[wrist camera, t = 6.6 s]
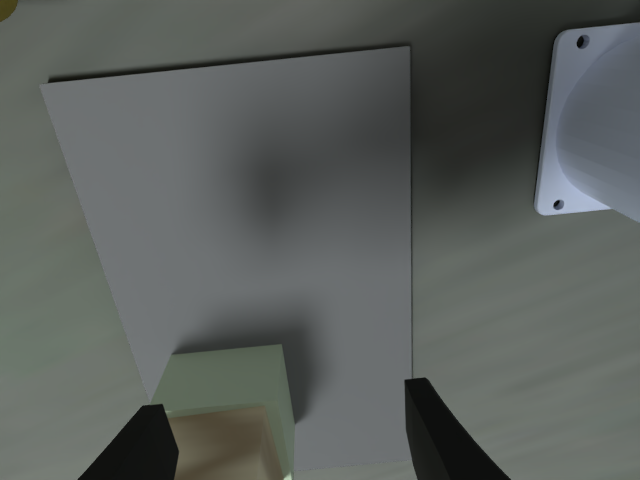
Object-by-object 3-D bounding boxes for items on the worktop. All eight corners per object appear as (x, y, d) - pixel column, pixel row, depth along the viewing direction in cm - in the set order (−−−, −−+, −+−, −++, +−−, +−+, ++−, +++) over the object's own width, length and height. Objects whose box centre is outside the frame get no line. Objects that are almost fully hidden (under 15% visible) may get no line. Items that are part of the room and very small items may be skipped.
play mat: (406, 46, 18) (409, 46, 17) (409, 451, 28) (412, 459, 27) (46, 83, 18) (38, 84, 17) (179, 473, 28) (177, 482, 27)
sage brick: (281, 343, 23) (277, 400, 19) (294, 424, 25) (293, 488, 22) (171, 354, 23) (146, 413, 19) (195, 434, 25) (176, 499, 22)
